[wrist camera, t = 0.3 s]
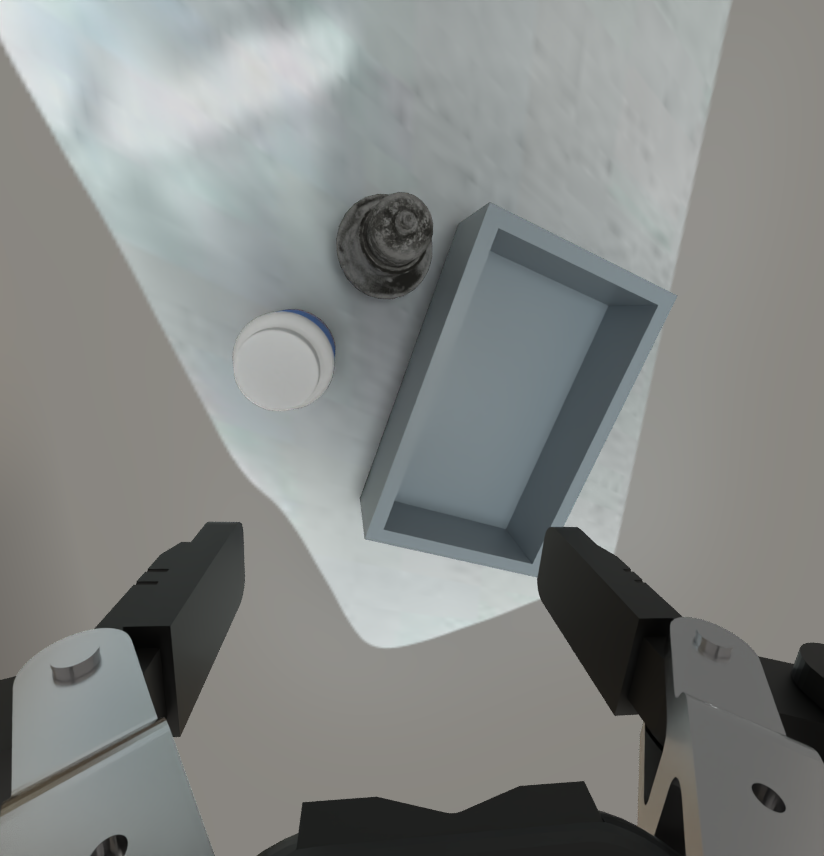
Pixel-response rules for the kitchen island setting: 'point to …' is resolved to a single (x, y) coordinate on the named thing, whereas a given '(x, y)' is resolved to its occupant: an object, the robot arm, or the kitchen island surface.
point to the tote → (508, 393)
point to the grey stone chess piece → (386, 244)
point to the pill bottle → (284, 359)
